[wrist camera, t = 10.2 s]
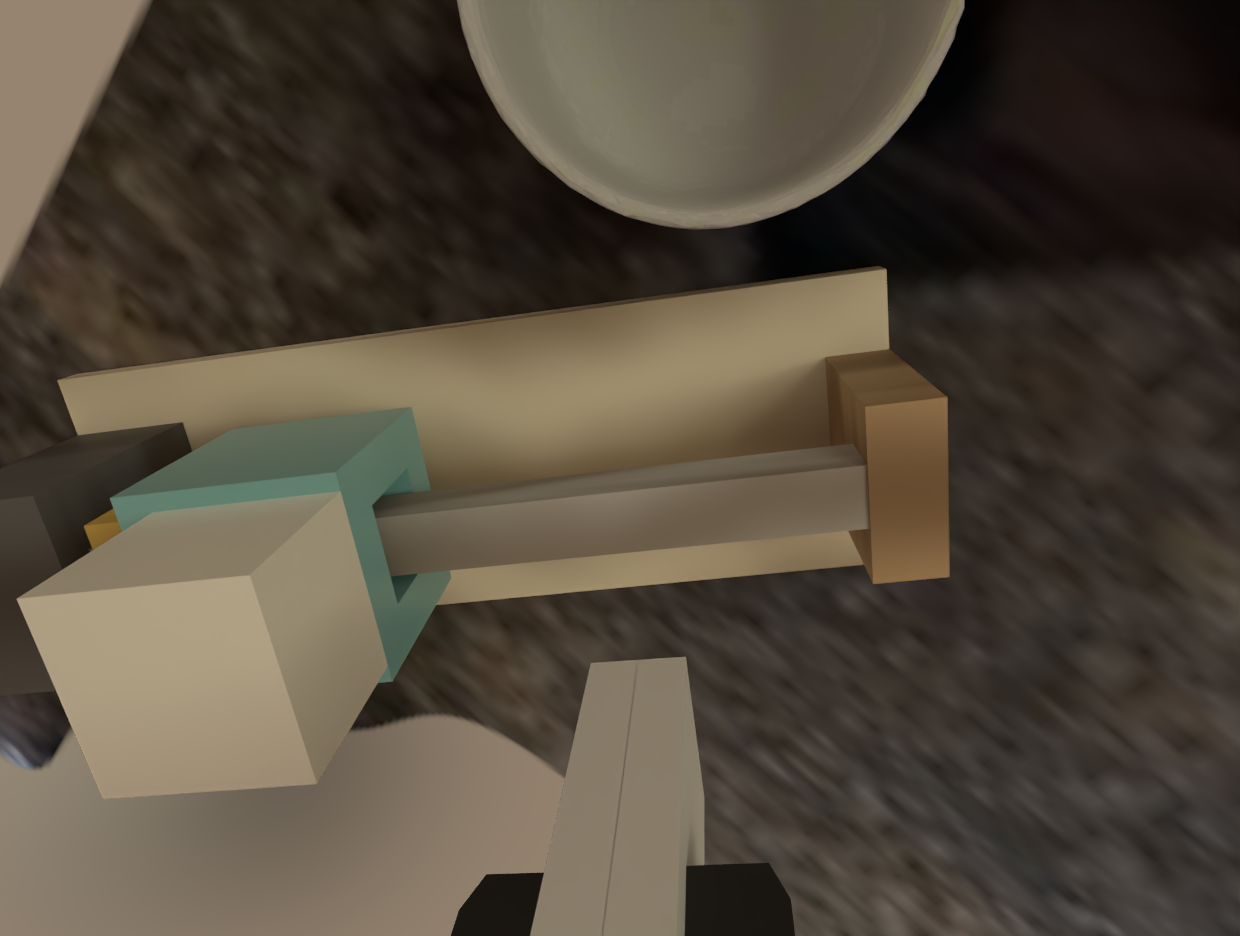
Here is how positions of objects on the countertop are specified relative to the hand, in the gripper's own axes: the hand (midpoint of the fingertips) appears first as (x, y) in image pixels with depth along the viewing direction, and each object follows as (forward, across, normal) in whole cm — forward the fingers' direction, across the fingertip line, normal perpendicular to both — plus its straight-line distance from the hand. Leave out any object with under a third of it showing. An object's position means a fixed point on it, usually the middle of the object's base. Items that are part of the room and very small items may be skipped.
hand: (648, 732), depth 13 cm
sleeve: (+13, -11, -1) cm, 17 cm away
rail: (+16, -7, 0) cm, 18 cm away
